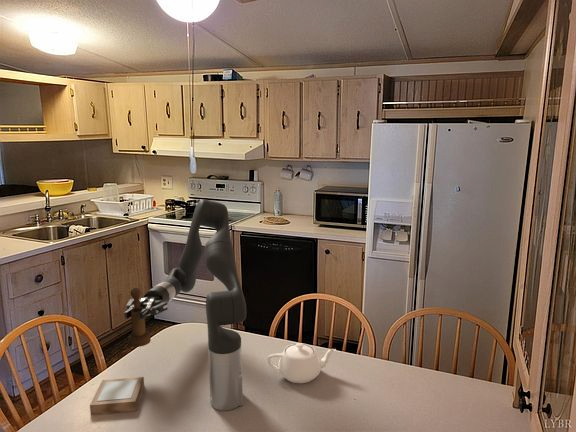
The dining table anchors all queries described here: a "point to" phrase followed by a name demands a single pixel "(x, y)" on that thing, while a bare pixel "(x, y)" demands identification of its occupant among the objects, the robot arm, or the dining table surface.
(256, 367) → the dining table surface
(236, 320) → the robot arm
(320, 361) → the teapot
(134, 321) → the brown pepper mill
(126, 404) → the plinth
